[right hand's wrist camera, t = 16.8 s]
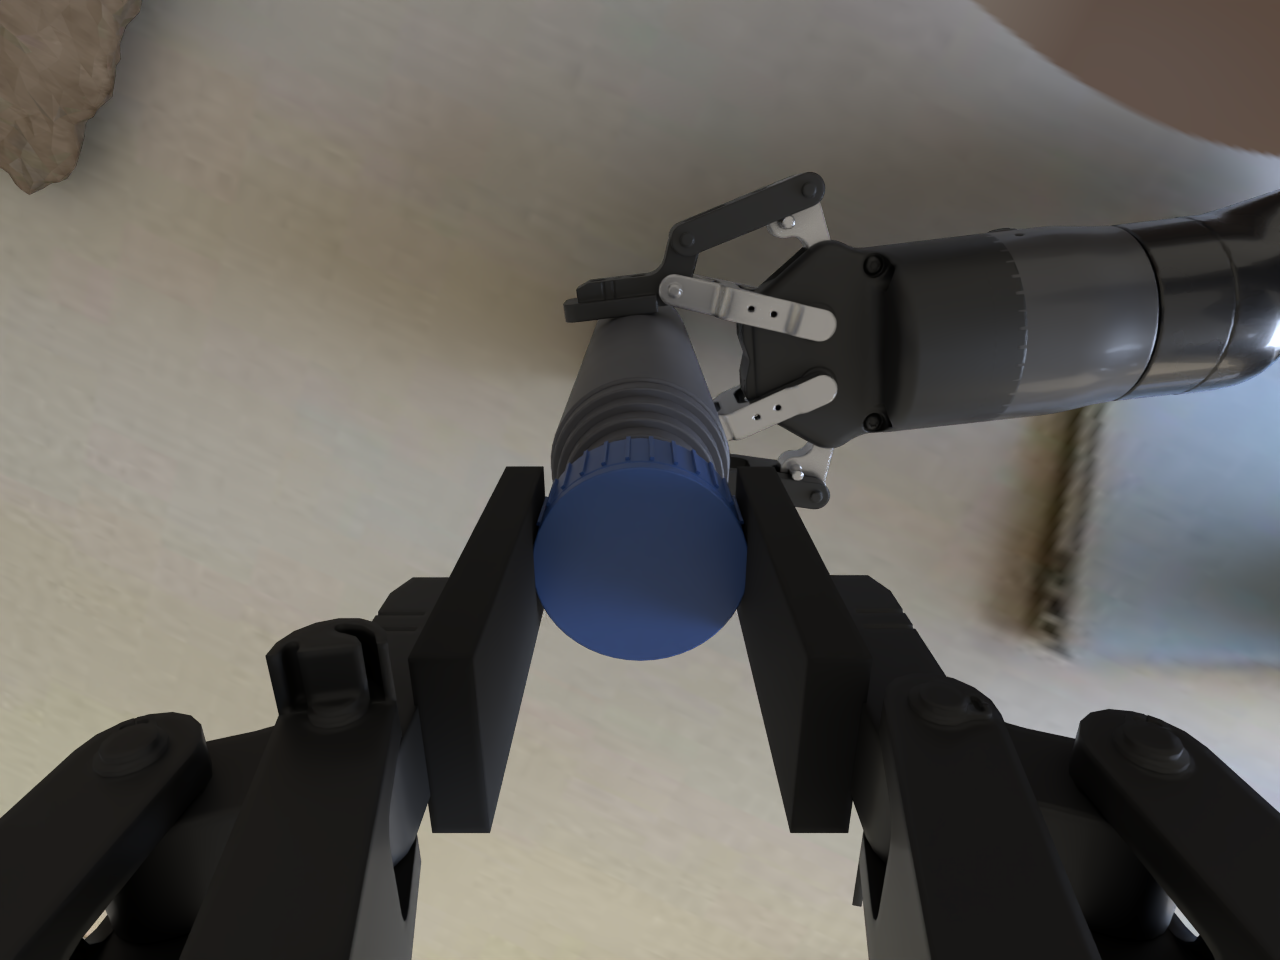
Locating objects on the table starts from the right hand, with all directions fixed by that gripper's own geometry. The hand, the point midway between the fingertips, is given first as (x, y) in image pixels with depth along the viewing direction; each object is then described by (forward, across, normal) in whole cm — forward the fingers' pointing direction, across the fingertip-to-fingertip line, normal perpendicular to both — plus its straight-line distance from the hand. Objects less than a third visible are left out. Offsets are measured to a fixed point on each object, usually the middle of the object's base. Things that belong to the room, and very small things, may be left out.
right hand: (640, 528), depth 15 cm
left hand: (+16, -3, 0) cm, 16 cm away
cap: (-1, 0, 0) cm, 1 cm away
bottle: (+22, 0, 0) cm, 22 cm away
